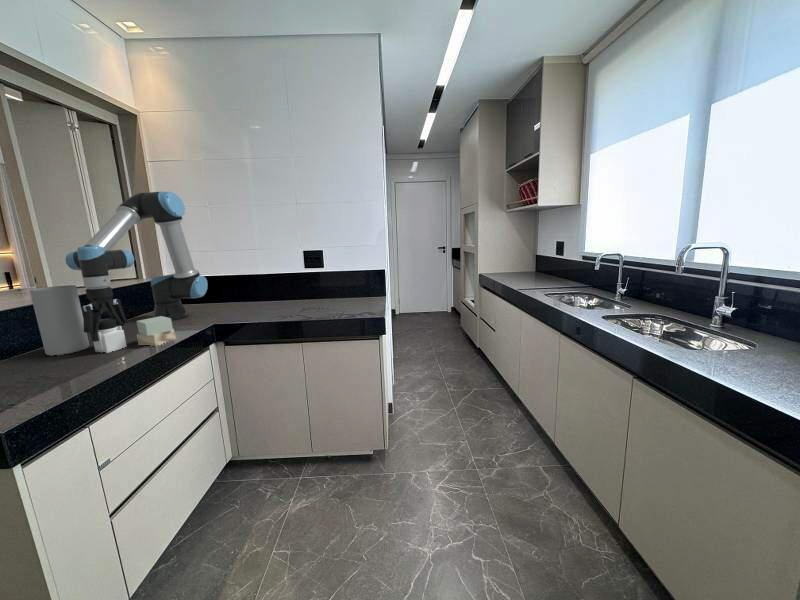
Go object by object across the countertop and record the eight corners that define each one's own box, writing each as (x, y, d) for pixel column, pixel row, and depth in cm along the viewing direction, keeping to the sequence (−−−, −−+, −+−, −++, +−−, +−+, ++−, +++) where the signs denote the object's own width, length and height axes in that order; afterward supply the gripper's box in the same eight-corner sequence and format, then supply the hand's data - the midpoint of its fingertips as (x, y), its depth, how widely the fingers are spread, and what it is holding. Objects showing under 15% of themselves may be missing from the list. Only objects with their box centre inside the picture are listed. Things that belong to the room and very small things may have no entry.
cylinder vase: (95, 348, 136) (81, 286, 132) (52, 358, 126) (35, 291, 121) (82, 344, 143) (69, 284, 138) (41, 353, 132) (24, 289, 127)
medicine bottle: (127, 347, 136) (121, 317, 133) (107, 353, 129) (100, 322, 127) (115, 346, 138) (109, 317, 136) (95, 351, 132) (88, 321, 129)
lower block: (159, 339, 146) (157, 328, 145) (176, 340, 144) (174, 328, 143) (138, 346, 138) (136, 334, 137) (156, 347, 135) (153, 335, 134)
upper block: (163, 327, 146) (161, 316, 145) (173, 330, 141) (171, 318, 140) (138, 332, 139) (136, 320, 138) (147, 336, 134) (145, 323, 133)
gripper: (79, 292, 118) (93, 354, 123) (131, 283, 139) (141, 337, 143) (60, 292, 119) (74, 354, 123) (114, 283, 139) (125, 337, 144)
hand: (110, 345), depth 133 cm, fingers closed on medicine bottle, 8 cm apart
